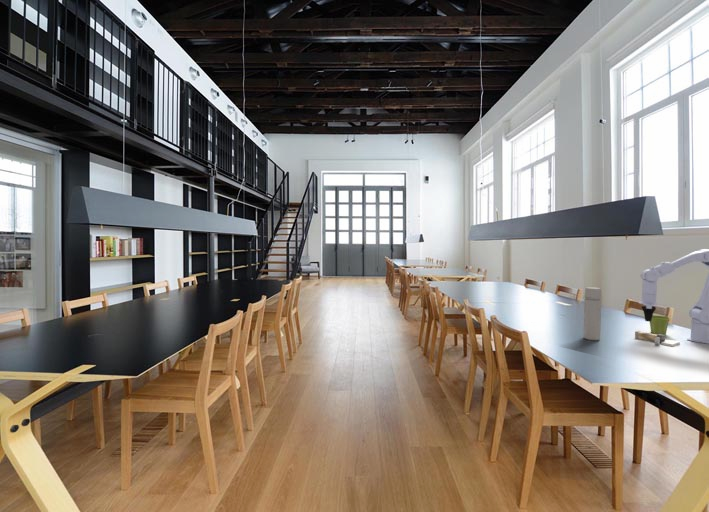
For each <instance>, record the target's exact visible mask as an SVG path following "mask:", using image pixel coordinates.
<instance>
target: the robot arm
mask: <svg viewBox="0 0 709 512" xmlns="http://www.w3.org/2000/svg"><path fill="white" fill-rule="evenodd" d="M693 262H699V263H700V262H701V263H702V264H703V265H705V266H706V267H707V269H709V249H707V248H701V249H699V250H696V251H693V252H691V253H688V254H687V255H684V256H682V257H680V258H678V259H676V260H674V261H662V262H660V264H658V265H656V266H651V267H650V269H644V270H643V271H642V272H641V274H640V278H641V279H642V284H641V285H642V286H641V287H642V288H641V301H638V304H640V305H641V309H642V311H643V315H644V320H645V322H649V323H650V322H651V319H652V315H654V313H655V311H656V310H657V309H656V306H657V289H658V288H657V287H658V286H657V282H658V281H659V280H660V279H661V278H663V277H666V276H668V275H671V274H672V273H674V272H676V269H677V268H680V267H681V268H682V266H683V267H684V266H686V265H688V264H691V263H693ZM688 315H689V317H690V318H691V323H690V337H689V338H686V340H687V341H690V342H696V343H700V344H701V343H702V344H706V345H707V344H709V273H708V274H707V276H706V279H705V282H704V285H703V288H702V290H701V293H700V296H699V299H698V300H697V302H695V303H694V305H693V307H692V308H691V309H690V310H689V311H688Z"/></svg>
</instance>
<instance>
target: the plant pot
mask: <svg viewBox="0 0 709 512" xmlns="http://www.w3.org/2000/svg"><path fill="white" fill-rule="evenodd" d="M670 320H671V317H669V316H664V315H654V314H653V315H652V319H651V322H650V321H649V326H650V327H649V328H650V334H656V335H657V334H662V335H665V336H666V335H667V331H668V326H669V323H670Z"/></svg>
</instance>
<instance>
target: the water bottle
mask: <svg viewBox="0 0 709 512" xmlns="http://www.w3.org/2000/svg"><path fill="white" fill-rule="evenodd" d="M602 293H603V292H602V288H600V287H593V286H590V287H589V286H588V287H587V286H586V287H585V291H584V296H583V297H582V298H584V302H583V303H584V305H583V339H585V340H588V341H599V340H601V329H602V328H601V327H602V324H601V323H602V321H601V320H602V299H603V296H602Z"/></svg>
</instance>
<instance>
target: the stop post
mask: <svg viewBox="0 0 709 512" xmlns="http://www.w3.org/2000/svg"><path fill="white" fill-rule="evenodd" d="M658 345H659V346H661V343H660V338H659V337H655V342H654V346H658Z"/></svg>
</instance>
